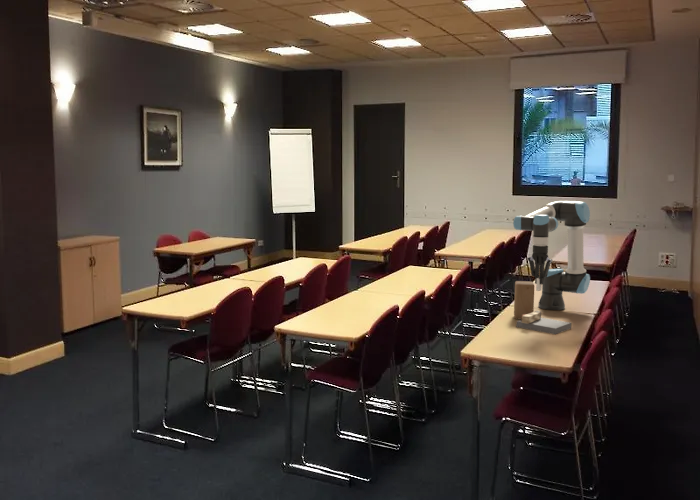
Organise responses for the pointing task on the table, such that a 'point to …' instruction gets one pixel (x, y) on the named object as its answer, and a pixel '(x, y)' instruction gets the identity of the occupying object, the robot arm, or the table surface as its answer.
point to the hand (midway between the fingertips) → (538, 290)
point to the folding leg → (531, 317)
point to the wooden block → (523, 298)
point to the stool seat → (545, 325)
